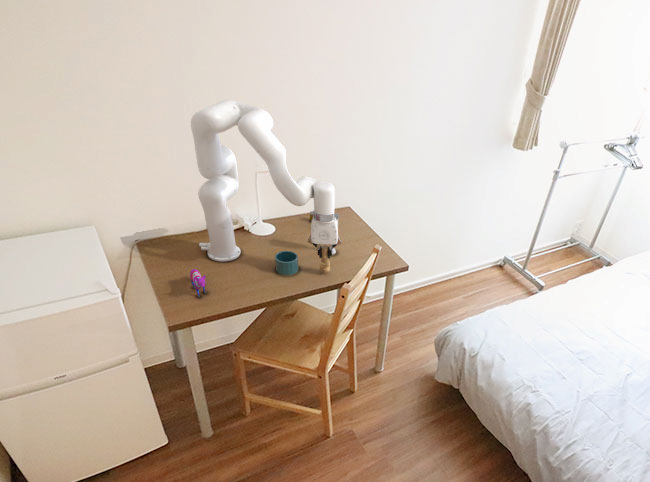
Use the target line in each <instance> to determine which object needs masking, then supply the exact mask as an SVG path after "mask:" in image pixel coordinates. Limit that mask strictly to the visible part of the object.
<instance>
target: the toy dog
mask: <svg viewBox="0 0 650 482" xmlns="http://www.w3.org/2000/svg"><path fill="white" fill-rule="evenodd" d="M206 276H207V275H206V274H203V276H202V275H201V272H200V271H199V270H198V269H196V268H193V269H191V270H190V272H189V277H190V282H191V285H192V288H193V289H194V290H196V293H197V298H199V299H200V298H201V296H200V290H199V289H200V288H202V291H203V294H204V295H207V291H206V289H205V287H206Z"/></svg>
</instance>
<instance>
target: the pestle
mask: <svg viewBox="0 0 650 482" xmlns="http://www.w3.org/2000/svg"><path fill="white" fill-rule="evenodd" d="M328 247H329V245H328V244H321V258H320V261H319V271H320V272H321V273H325V274H326V273H329V272H330V271H331V260H330V259H329V258H328Z"/></svg>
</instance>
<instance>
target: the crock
mask: <svg viewBox="0 0 650 482" xmlns="http://www.w3.org/2000/svg"><path fill="white" fill-rule="evenodd" d="M274 255H275V256H274V264H275V272H277V273H278V274H280V275H284V276H291V275H295V274H297V273H298V272H299V255H298V254H297V253H296V252H295V251H292V250H282V251H278V252H276V254H274Z"/></svg>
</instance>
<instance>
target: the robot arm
mask: <svg viewBox="0 0 650 482" xmlns="http://www.w3.org/2000/svg"><path fill="white" fill-rule="evenodd" d="M236 126H237V129H238V131H239V134H240V135H241V136H242V137H243V139H245V140H246V142H247V143H248V144H249V145H250V147H251V148H252V149H253V150H254V151H255V152H256V153H257V154H258V155H259V157H260V158H261V159H262V160H263V161H264V163H265V164H266V165H267V168H268V172H269V176H270V177H271V180H272V182H273V185H274V186H275V187H276V189H277V190H278V192H279V193H280V194H281V195H282V196H283V198H285V199H286V201H288V202H289V203H290V204H291V205H294V206H296V207H302V206H304V205H306V204H307V203H308V202H309V201H311V199H313V211H310V212H309V216H310V215H313V218H312V221H311V223H310V235H309V237H308V238H307V243H308V244H310V245H312V246H314V247H315V248H316V250H317V256H318V257H319V259H321V246H322V245H327V246H328V260H330V259H331V257H332V256H333V254H332V249H333V248H335V247H337V246H339V245H341V244H342V240H341V238H340V235H339V225H338V226H337V220H336V218H335V213H336V212H335V211H336V210H335V208H336V207H335V205H336V204H335V203H336V190H335V185H333V184H332V182H329V181H321V180H318V179H316V178H314V177H311V176H308V175H307V176H306V175H303V176H301V177H299V178H298V179H297V180H294V178H293V177H292V175H291V174H290V171H289V170H288V166H287V149H286V148H285V146H284V145H283V144H282V143H281V142H280V140H279V139H278V138H277V136H276V135H275V134H274V133H273V132H272V130H273V128H274V119H273V117H272V116H271V114H270V113H269V112H268V111H266V110H265V109H263V108H261V107H258V106H255V105H251V104H248V103H244V102H241V101H238V100H234V99H224V100H220V101H218V102H216V103H215V104H212V105H209V106H208V107H205V108H203V109H201V110H198V111H197V112H195V113H194V114H193V115H192V117H191V120H190V129H191V130H190V131H191V133H192V139H193V144H194V151H195V158H196V164H197V169H198V171H199V173H200V175H201V176H202V177H203V178H204V179H207V180H206V181H205V182H204V183H202V185H201V186H200V187H199V189H198V191H197V192H198V193H197V196H198V200H199V202H200V205H201V207H202V210H203V214H204V219H205V224H206V229H207V236H208V241H209V242H199V244H198V245H199V248H200V249H201V251H207V257H208V258H209V259H211V260H213V261H214V262H215V261H216V262H223V263H225V262H231V261H235V260H236V259H238V258H239V257H240V256H241V253H242V252H241V248H240V247H239V246H237V243H236V238H235V231H234V230H235V229H234V223H233V217H232V212H231V209H230V208H229V207H228V204H227V203H228V201H230V199H231V198H233V197H234V196H235V195H236V194H237V193H238V191H239V187H240V181H239V180H240V179H239V171H238V162H237V158H236V155H235V153H234V152H233V150H232V149H231V148H230V147H228V146H227V145H224V144H222V142H221V139H220V136H219V135H218V134H221V133H225V132H226V131H228V130H230V129H232V128H234V127H236Z"/></svg>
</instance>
